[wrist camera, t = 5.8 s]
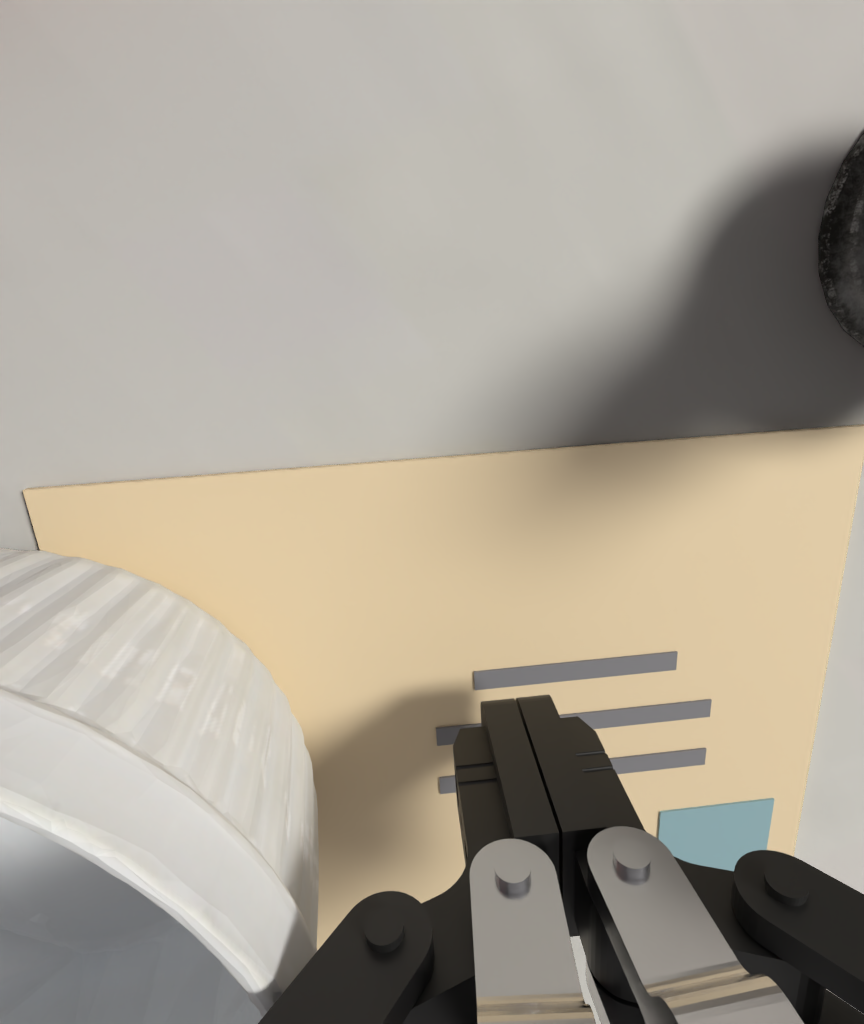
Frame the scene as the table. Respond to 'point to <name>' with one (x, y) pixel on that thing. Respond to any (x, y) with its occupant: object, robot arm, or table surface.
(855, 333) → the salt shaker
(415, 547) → the letter
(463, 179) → the table surface
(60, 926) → the ramekin
